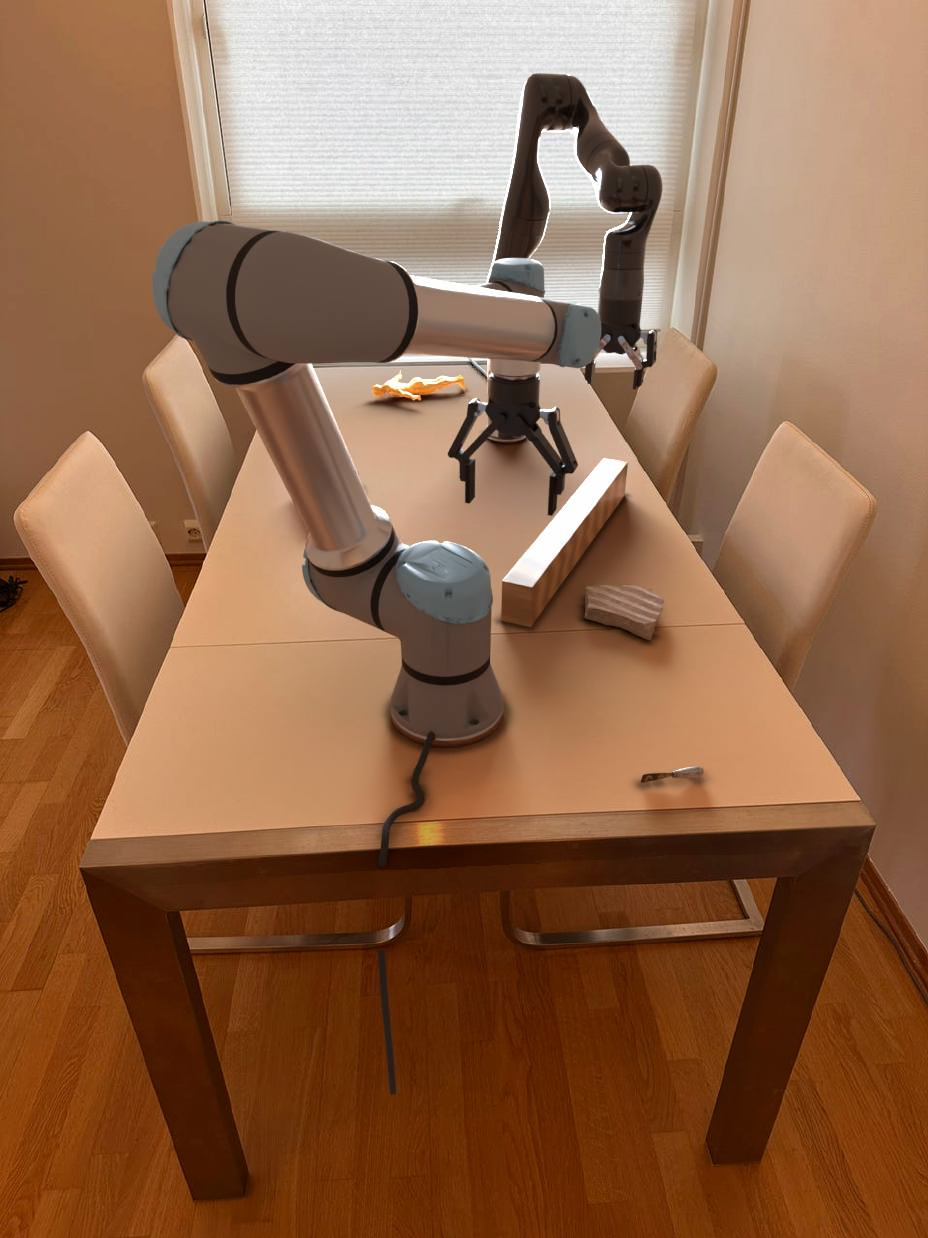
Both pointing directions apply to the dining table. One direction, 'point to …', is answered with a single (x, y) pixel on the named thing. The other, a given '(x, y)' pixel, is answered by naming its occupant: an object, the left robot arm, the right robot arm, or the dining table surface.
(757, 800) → the dining table surface
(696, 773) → the putty knife
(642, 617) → the stone
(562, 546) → the post
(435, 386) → the human figure
